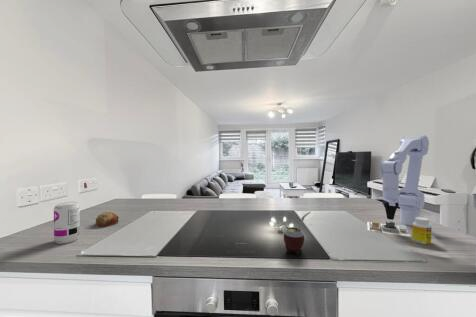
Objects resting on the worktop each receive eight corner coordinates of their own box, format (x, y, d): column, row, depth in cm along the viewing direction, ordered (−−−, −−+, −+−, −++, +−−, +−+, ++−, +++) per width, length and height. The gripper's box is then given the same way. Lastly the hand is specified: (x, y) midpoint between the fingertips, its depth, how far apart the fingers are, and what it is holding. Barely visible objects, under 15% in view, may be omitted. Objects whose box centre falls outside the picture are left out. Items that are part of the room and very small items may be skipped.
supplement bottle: (428, 249, 77) (428, 221, 77) (409, 244, 81) (409, 218, 81) (433, 245, 80) (433, 219, 80) (415, 241, 84) (415, 215, 84)
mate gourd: (280, 249, 77) (280, 208, 77) (298, 246, 80) (298, 206, 80) (292, 258, 70) (292, 213, 70) (311, 254, 73) (311, 211, 73)
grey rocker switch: (398, 226, 94) (398, 224, 93) (405, 227, 92) (405, 225, 92) (400, 230, 90) (400, 228, 90) (407, 231, 89) (407, 229, 88)
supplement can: (54, 246, 80) (53, 207, 80) (54, 239, 86) (53, 203, 86) (80, 240, 85) (80, 203, 85) (78, 235, 92) (78, 200, 91)
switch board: (367, 224, 105) (367, 218, 105) (405, 230, 97) (405, 223, 97) (367, 233, 93) (367, 227, 93) (411, 240, 85) (411, 233, 85)
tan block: (372, 227, 96) (372, 220, 96) (378, 228, 95) (378, 221, 95) (372, 229, 94) (372, 222, 94) (378, 230, 92) (378, 223, 92)
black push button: (385, 225, 95) (385, 220, 95) (394, 226, 93) (394, 221, 93) (386, 227, 92) (386, 222, 92) (395, 228, 90) (395, 223, 90)
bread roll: (97, 230, 108) (89, 217, 106) (117, 217, 115) (110, 205, 112) (101, 235, 101) (92, 221, 99) (122, 222, 107) (115, 209, 105)
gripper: (378, 185, 101) (378, 213, 101) (380, 189, 88) (380, 222, 88) (396, 186, 97) (396, 216, 97) (401, 191, 85) (401, 224, 85)
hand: (390, 219), depth 92 cm, fingers closed
